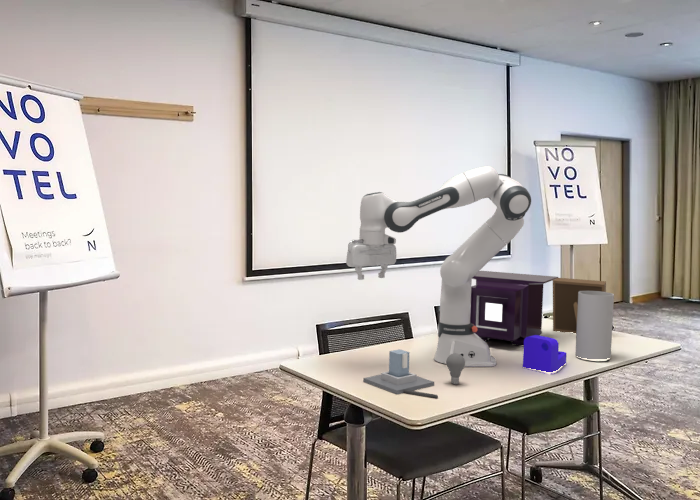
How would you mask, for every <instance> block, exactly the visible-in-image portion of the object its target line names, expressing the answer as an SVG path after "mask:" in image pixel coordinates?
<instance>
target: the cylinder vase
mask: <svg viewBox="0 0 700 500" xmlns="http://www.w3.org/2000/svg"><path fill="white" fill-rule="evenodd" d="M614 299H615V294H614V293H612V292H607V291H606V292H600V291H579V292H578V312H577V332H576V334H575V338H576V339H575V357H576V356H578V357H581V358H587V359H607V358H610V357H612V343H613V342H612V341H613V339H612V338H613V321H614V320H613V319H614V305H615V304H614V301H615V300H614Z"/></svg>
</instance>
